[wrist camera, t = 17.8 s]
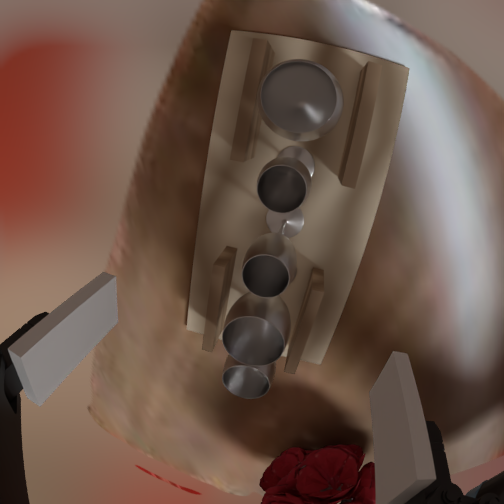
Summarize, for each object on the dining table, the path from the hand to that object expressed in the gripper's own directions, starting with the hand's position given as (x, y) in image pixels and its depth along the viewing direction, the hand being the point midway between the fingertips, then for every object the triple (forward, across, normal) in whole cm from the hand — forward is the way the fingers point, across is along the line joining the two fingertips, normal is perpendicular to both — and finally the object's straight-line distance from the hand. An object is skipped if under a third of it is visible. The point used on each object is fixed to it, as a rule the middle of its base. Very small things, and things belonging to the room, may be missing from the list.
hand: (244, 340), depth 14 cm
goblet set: (+21, 0, 0) cm, 21 cm away
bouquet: (+22, -19, +41) cm, 50 cm away
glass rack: (+21, 0, 0) cm, 21 cm away
